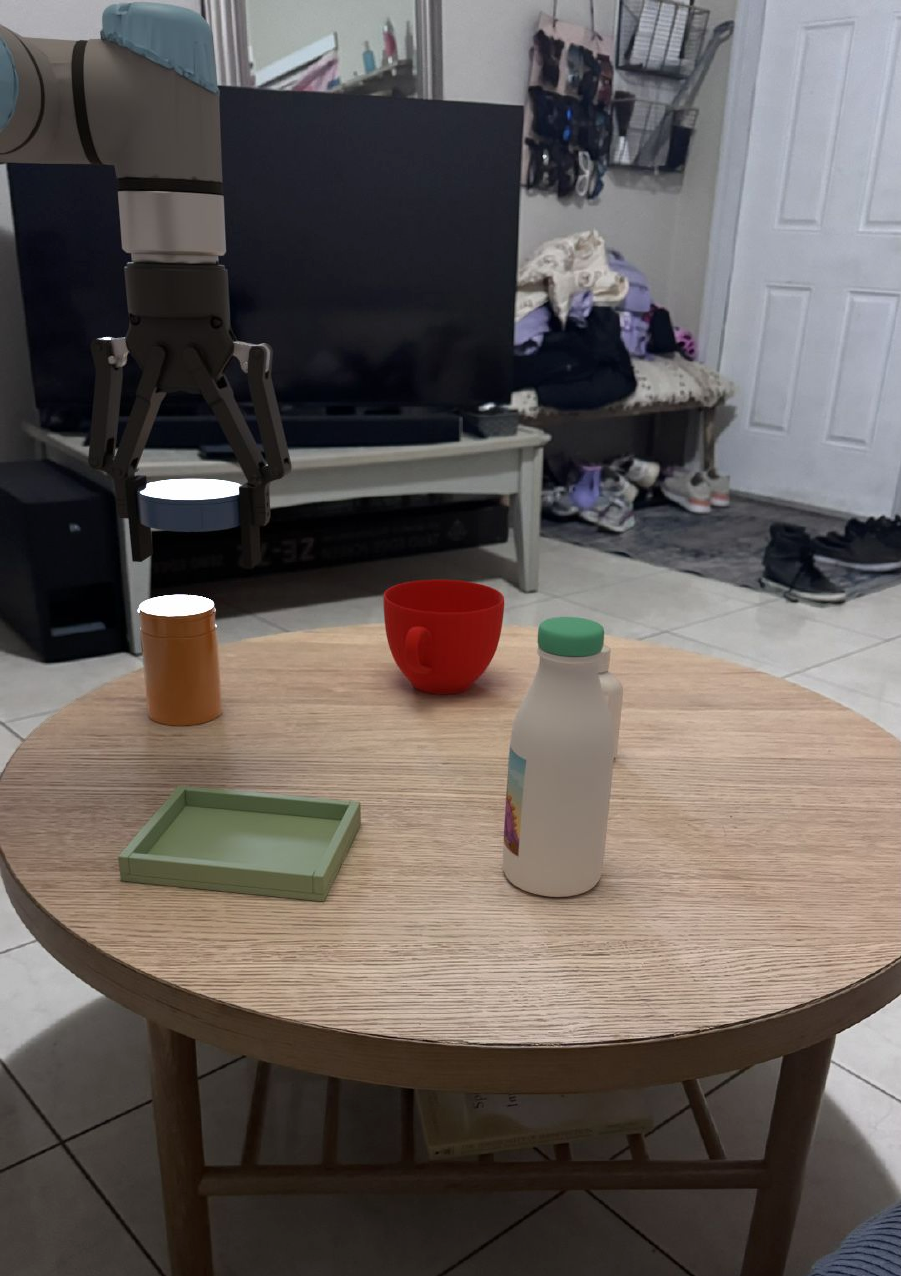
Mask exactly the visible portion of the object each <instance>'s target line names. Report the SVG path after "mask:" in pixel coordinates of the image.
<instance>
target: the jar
mask: <svg viewBox="0 0 901 1276" xmlns="http://www.w3.org/2000/svg"><path fill="white" fill-rule="evenodd" d="M137 613H138V615H139V623H140V627H139V635H140V647H141V656H142V665H143V666H142V667H143V676H144V687H145V698H146V699H145V700H146V708H147V716H148V718H149V719H150V720H152V721H153V722H156V723H158V724H162V725H167V726H174V727H175V726H176V727H177V726H179V727H183V726H194V725H200V724H205V723H208V722H211V721H213V720H215V719H216V718H219V717H220V715H221V714H222V713H223V701H222V700H223V699H222V698H223V697H222V686H221V685H222V684H221V682H222V681H221V669H220V655H219V639H218V637H219V635H218V625H217V621H216V614H217V609H216V607H215V603H214V601H213V600H211V599H209V598H206V597H203V596H198V595H191V594H189V595H188V594H172V595H171V594H170V595H163V596H157V597H152V598H149V599H146V600H144V601H142V602H141V603H140V604H138V609H137Z"/></svg>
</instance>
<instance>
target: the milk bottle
mask: <svg viewBox="0 0 901 1276" xmlns="http://www.w3.org/2000/svg"><path fill="white" fill-rule="evenodd" d="M603 643H604V644H605V629H604V626H603V625H601V624H600V623H599V622H597V621H595V620H592V619H588V618H584V617H579V616H578V617H577V616H557V617H550V618H547V619H545V620H542V621H541V622H540V623H539V626H538V630H537V649H536V654H537V655H538V656H539V660H538V661H539V662H538V667H537V670H536V672H535V676H534V678H533V681H532V683H531V685H530V686H529V689H528V691H527V693H526V694H525V696H524V697H523V699H522V701H521V702H520V705H519V707H518V710H517V712H516V714H515V716H514V717H515V718H514V720H513V724H512V729H511V734H510V743H509V750H508V751H509V752H508V761H507V762H508V764H507V775H506V776H507V777H506V793H505V806H504V807H505V809H504V826H503V839H502V840H503V842H502V871H503V872H504V875H505V877H506V879H507V880H508V881H509V882H510V883H512V885H514V886H515V887H516V888H519V889H520V890H522V891H525V892H528V893H530V894H535V895H537V896H544V897H551V898H552V897H555V898H561V897H572V896H578V895H581V894H584V893H586V892H588V891H590V890H592V889H593V888H594V887H595V886H596V885H597V883H598V882H599V881H600V880H601V878H602V873H603V867H604V861H605V850H606V841H607V832H608V821H609V814H610V812H609V811H610V803H611V792H612V791H611V790H612V782H613V770H614V759H615V758H614V728H613V722H612V717H611V714H610V711H609V708H608V705H607V702H606V700H605V697H604V694H603V691H602V688H601V684H600V679H599V673H598V660H600V659H601V658H602V648H603ZM613 758H614V759H613Z"/></svg>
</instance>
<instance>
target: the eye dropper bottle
mask: <svg viewBox="0 0 901 1276" xmlns="http://www.w3.org/2000/svg"><path fill="white" fill-rule="evenodd" d="M611 652H612V651H611V647H610V646H609V645H606V644H605V642H604V643H603V648H602V658H601V659H600V660H598V673H599V679H600V684H601V688H602V691H603V694H604V697H605V700H606V702H607V705H608V708H609V711H610V714H611V717H612V722H613V728H614V758H613V760H614V759H615V758H616V757H617V755H618V750H619V749H618V748H619V740H620V739H619V738H620V730H621V719H622V709H623V708H622V707H623V699H624V698H623V696H624V685H623V684H622V682H621V681H620V680H619V679H618V677H617V676H616V675H614V674H613V673H611V672H610V671H609V670H610V660H611Z"/></svg>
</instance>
